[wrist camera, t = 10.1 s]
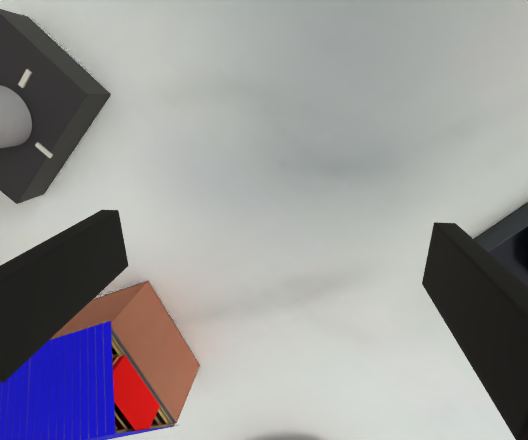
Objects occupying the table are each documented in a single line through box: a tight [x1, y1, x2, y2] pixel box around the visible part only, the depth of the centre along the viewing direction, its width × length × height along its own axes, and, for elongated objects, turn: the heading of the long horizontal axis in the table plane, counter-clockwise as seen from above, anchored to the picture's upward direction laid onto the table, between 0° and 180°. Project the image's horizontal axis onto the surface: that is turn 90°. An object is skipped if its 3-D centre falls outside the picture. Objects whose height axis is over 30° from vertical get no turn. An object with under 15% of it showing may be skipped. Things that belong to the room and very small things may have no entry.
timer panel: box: [0, 9, 110, 204], centre depth 26 cm, size 12×9×3 cm
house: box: [0, 281, 200, 440], centre depth 30 cm, size 12×20×12 cm, turn 114°
